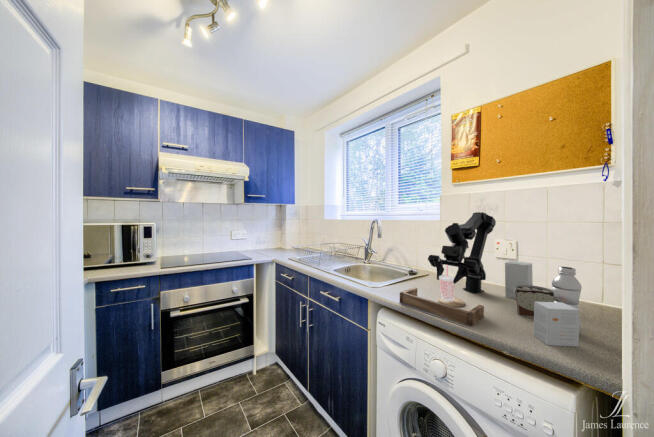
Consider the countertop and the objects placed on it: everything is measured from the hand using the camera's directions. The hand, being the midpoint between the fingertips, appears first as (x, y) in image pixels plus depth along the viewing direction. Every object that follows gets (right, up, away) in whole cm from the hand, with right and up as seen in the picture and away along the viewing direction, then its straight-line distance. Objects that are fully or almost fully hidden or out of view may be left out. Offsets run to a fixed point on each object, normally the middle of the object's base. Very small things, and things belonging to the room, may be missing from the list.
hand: (445, 281), depth 95 cm
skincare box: (+36, -10, +9) cm, 38 cm away
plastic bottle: (+27, -11, -21) cm, 36 cm away
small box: (+19, -11, -26) cm, 34 cm away
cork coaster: (+4, -10, +4) cm, 11 cm away
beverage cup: (+1, -8, +1) cm, 8 cm away
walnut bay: (-4, -10, -3) cm, 11 cm away
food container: (+27, -10, -8) cm, 30 cm away
